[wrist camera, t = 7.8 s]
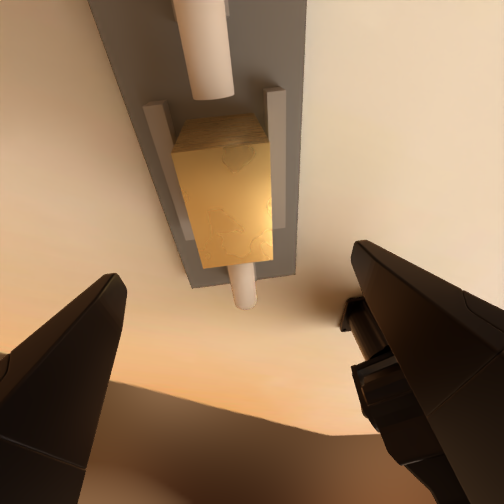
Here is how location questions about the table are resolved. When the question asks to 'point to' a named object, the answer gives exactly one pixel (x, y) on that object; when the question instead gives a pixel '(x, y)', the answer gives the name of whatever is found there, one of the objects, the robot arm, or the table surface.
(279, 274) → the shaft stand
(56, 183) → the table surface
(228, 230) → the block
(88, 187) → the table surface
